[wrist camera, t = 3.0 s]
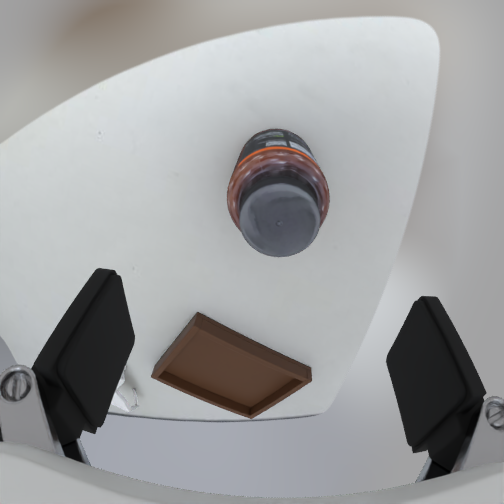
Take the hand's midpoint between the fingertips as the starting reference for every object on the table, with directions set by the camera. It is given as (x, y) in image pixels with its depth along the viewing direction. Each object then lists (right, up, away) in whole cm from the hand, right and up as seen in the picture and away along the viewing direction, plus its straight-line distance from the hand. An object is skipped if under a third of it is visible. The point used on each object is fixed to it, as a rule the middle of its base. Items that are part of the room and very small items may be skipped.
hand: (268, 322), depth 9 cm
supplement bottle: (+2, +10, +15) cm, 18 cm away
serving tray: (-3, -13, +29) cm, 33 cm away
